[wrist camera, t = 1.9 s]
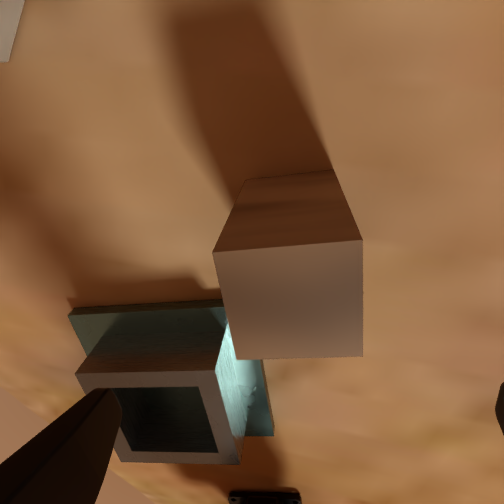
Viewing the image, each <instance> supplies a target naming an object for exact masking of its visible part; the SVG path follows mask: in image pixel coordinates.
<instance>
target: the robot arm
mask: <svg viewBox="0 0 504 504" xmlns="http://www.w3.org/2000/svg"><path fill="white" fill-rule="evenodd" d="M495 413H496V417H497V420H498V423H499V425H500V427H501V430H502V432H503V435H504V382H503V383H502V384H501V386H500V390H499V394H498V398H497V402H496V406H495ZM121 420H122V408H121V406H120V404H119V402H118V399H117V397H116V395H115V393H114V391H113V390H112V389H111V388H95V389H93V390H92V391H91V392H89V393H88V394H87V395H86V396H84V397H83V398H82V399H81V400H79V401H78V402H77V403H76V404H74V405H73V406H72V407H71V408H69V409H68V410H67V411H66V412H64V413H63V414H62V415H61V416H60V417H58V418H57V419H56V420H55V421H53V422H52V423H51V424H50V425H48V426H47V427H46V428H45V429H43V430H42V431H41V432H40V433H38V434H37V435H36V436H35V437H34V438H32V439H31V440H30V441H28V442H27V443H26V444H25V445H23V446H22V447H21V448H20V449H19V450H17V451H16V452H15V453H14V454H12V455H11V456H10V457H9V458H7V459H6V460H5V461H4V462H2V463H1V464H0V504H95V502H96V499H97V496H98V494H99V491H100V488H101V486H102V483H103V480H104V477H105V474H106V471H107V467H108V464H109V461H110V457H111V454H112V450H113V447H114V444H115V440H116V437H117V433H118V430H119V427H120V423H121ZM228 500H229V504H302V501H301V497H300V496H299V495H297V494H276V493H249V492H230V493H229V497H228Z"/></svg>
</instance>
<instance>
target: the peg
mask: <svg viewBox="0 0 504 504" xmlns="http://www.w3.org/2000/svg"><path fill="white" fill-rule="evenodd" d="M212 254H213V259H214V263H215V268H216V272H217V276H218V281H219V285H220V290H221V294H222V298H223V303H224V307H225V312H226V316H227V320H228V325H229V329H230V334H231V338H232V342H233V347H234V351H235V356H236V360H258V359H293V358H328V357H363V239H362V237H361V235H360V232H359V230H358V227H357V225H356V222H355V220H354V218H353V215H352V213H351V210H350V208H349V205H348V203H347V201H346V198H345V196H344V193H343V191H342V189H341V186H340V184H339V181H338V179H337V176H336V174H335V172H334V170H326V171H317V172H309V173H300V174H292V175H284V176H275V177H267V178H258V179H250V180H245V182H244V185H243V187H242V189H241V191H240V193H239V195H238V198H237V200H236V202H235V204H234V206H233V208H232V211H231V213H230V215H229V217H228V219H227V221H226V224H225V226H224V228H223V230H222V232H221V234H220V237H219V239H218V241H217V243H216V245H215V247H214V249H213V252H212Z"/></svg>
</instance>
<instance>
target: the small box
mask: <svg viewBox="0 0 504 504" xmlns="http://www.w3.org/2000/svg"><path fill="white" fill-rule="evenodd" d="M24 2H25V0H0V62H8V61H9V58H10V54H11V50H12V46H13V42H14V39H15V35H16V31H17V28H18V24H19V20H20V17H21V13H22V9H23V6H24Z"/></svg>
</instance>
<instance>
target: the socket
mask: <svg viewBox="0 0 504 504" xmlns="http://www.w3.org/2000/svg"><path fill="white" fill-rule="evenodd" d="M68 318H69V320H70V322H71V324H72V326H73V328H74V330H75V332H76V334H77V336H78V338H79V340H80V342H81V345H82V347H83V349H84V351H85V353H86V355H87V358H86V359H85V360H84V362H83V363H82V364H81V366H80V367H79V368H78V370H77V371H76V373H75V375H76V377H77V379H78V381H79V383H80V385H81V387H82V389H83V391H84V392H85V394H86V395H87V394H88V393H89V392H91V391H92V390H93V389H95V388H111V389H112V390H113V391H114V393H115V395H116V397H117V399H118V402H119V404H120V406H121V408H122V420H121V423H120V427H119V430H118V433H117V437H116V440H115V444H114V449H115V451H116V453H117V455H118V457H119V459H120V461H121V462H143V463H186V464H229V465H240V464H241V457H242V449H243V442H244V436H274V421H273V415H272V410H271V404H270V399H269V393H268V388H267V382H266V377H265V371H264V366H263V360H262V359H258V360H236V356H235V351H234V347H233V342H232V338H231V334H230V329H229V325H228V320H227V316H226V312H225V307H224V303H223V299H218V300H201V301H185V302H168V303H151V304H135V305H118V306H102V307H85V308H74V309H73V310H72V311H71V312H70V313H69V314H68Z"/></svg>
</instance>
